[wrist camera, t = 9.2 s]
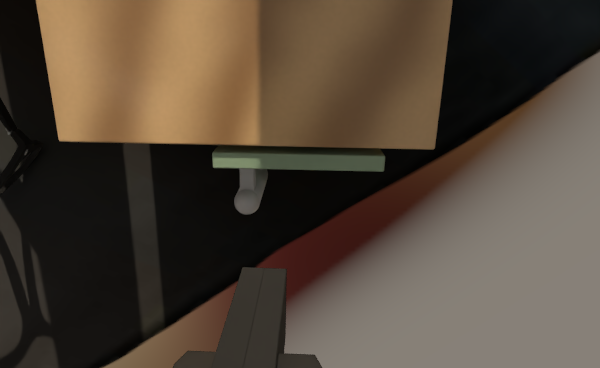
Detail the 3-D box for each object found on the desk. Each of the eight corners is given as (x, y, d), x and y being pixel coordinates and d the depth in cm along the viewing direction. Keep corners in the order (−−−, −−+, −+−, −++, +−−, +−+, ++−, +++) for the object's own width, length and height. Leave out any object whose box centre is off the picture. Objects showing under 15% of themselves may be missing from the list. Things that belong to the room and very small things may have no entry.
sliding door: (245, 166, 32) (215, 226, 22) (244, 115, 31) (211, 152, 21) (355, 168, 32) (379, 229, 22) (358, 117, 31) (385, 155, 20)
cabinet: (147, 106, 32) (58, 142, 20) (130, -77, 28) (8, -160, 17) (389, 111, 32) (435, 150, 20) (404, -73, 28) (471, -154, 16)
